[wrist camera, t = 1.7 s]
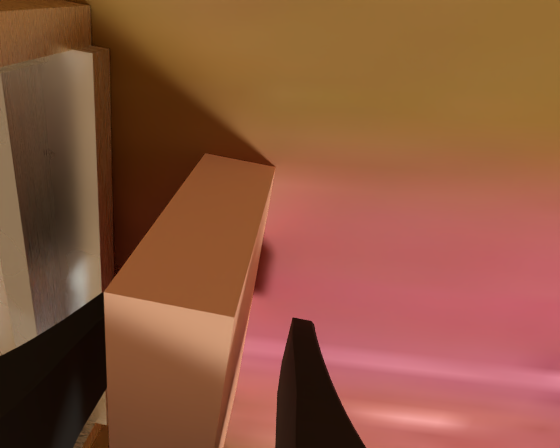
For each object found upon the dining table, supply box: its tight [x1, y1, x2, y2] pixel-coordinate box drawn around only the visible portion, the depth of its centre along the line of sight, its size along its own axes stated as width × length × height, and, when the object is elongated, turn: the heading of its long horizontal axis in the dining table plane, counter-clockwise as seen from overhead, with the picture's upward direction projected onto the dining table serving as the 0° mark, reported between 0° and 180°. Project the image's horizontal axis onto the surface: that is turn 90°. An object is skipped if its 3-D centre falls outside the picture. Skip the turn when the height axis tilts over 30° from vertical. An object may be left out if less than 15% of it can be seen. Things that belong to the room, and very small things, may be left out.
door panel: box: [104, 153, 276, 448], centre depth 13 cm, size 10×2×7 cm, turn 170°
